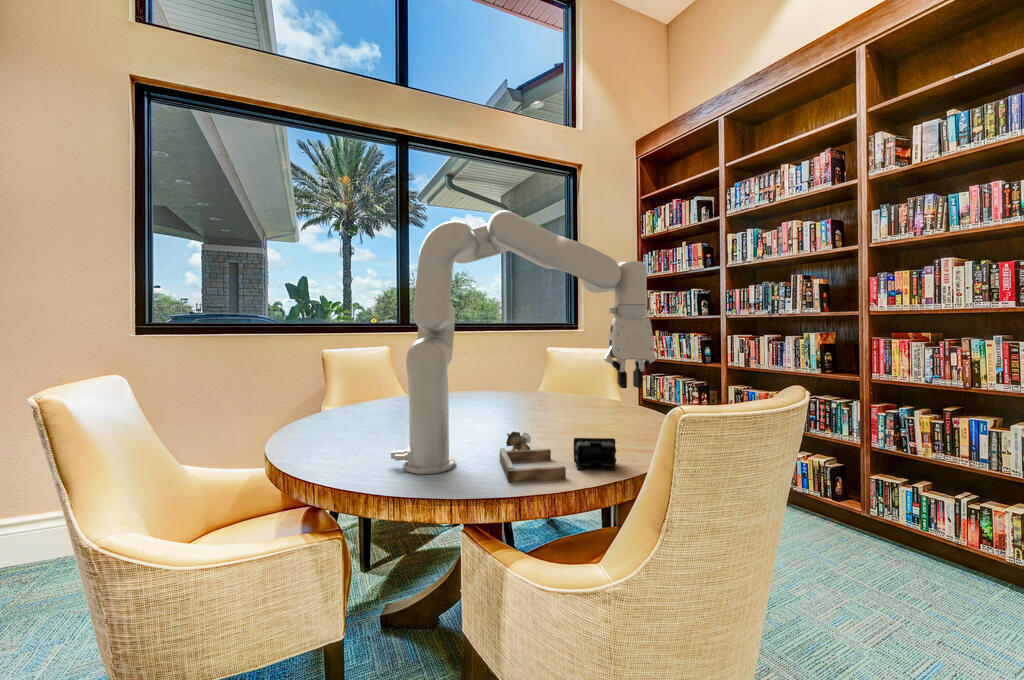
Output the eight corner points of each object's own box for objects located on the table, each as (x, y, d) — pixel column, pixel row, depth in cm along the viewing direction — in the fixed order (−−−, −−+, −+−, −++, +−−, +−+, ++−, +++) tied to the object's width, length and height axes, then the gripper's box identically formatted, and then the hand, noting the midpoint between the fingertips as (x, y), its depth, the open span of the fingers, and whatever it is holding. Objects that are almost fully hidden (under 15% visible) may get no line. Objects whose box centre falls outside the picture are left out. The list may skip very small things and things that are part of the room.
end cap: (613, 462, 112) (613, 435, 111) (617, 471, 104) (617, 443, 104) (573, 461, 112) (573, 435, 112) (575, 470, 105) (575, 442, 105)
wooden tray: (508, 482, 97) (508, 467, 97) (499, 461, 113) (499, 448, 112) (565, 479, 99) (565, 464, 99) (549, 458, 115) (549, 445, 114)
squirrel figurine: (499, 446, 122) (499, 449, 114) (513, 423, 123) (514, 425, 115) (522, 461, 122) (524, 465, 113) (536, 438, 123) (539, 441, 114)
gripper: (603, 312, 103) (603, 390, 104) (669, 312, 106) (668, 388, 107) (593, 313, 111) (593, 386, 111) (654, 313, 113) (654, 384, 114)
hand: (630, 386), depth 109 cm, fingers open, 3 cm apart
